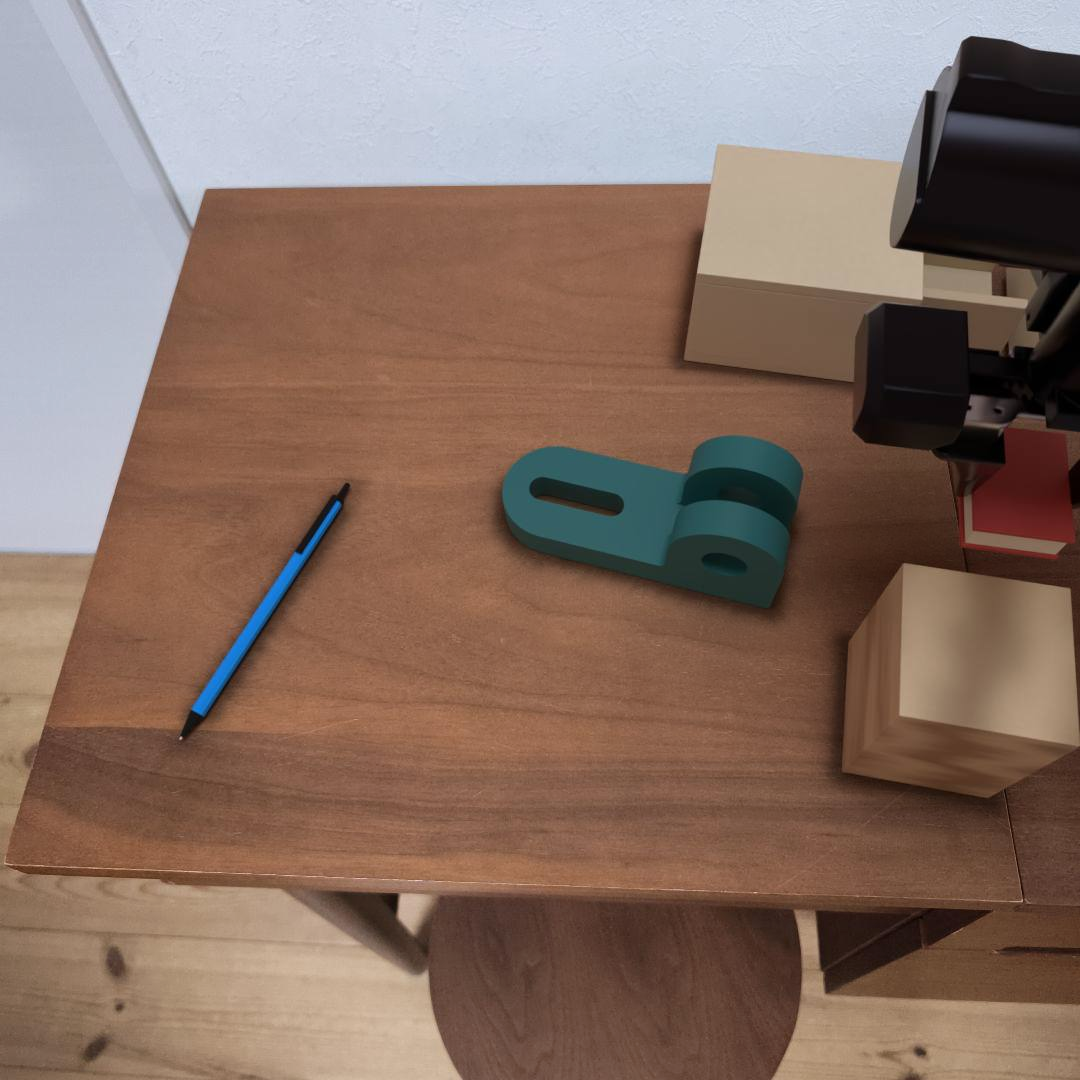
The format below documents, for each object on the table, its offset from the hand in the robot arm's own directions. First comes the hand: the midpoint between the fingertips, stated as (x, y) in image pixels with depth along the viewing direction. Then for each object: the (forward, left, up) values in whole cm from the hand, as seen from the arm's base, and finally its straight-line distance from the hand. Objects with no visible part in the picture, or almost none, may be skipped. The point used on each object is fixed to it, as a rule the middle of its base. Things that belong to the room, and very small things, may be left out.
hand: (1009, 494), depth 46 cm
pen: (+40, +8, -13) cm, 43 cm away
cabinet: (+10, -22, -13) cm, 27 cm away
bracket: (+18, -2, -13) cm, 22 cm away
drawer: (-3, -22, -12) cm, 25 cm away
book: (0, 0, 0) cm, 0 cm away
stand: (0, +8, -13) cm, 15 cm away
